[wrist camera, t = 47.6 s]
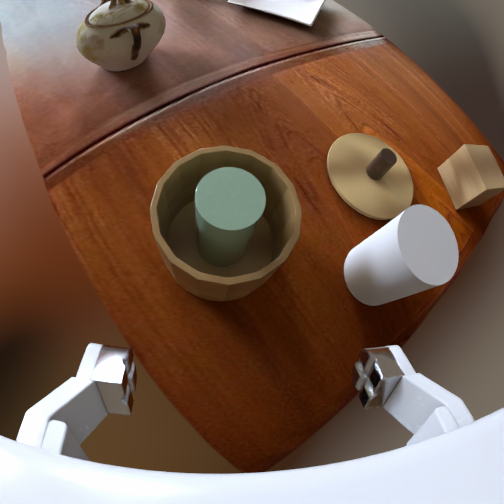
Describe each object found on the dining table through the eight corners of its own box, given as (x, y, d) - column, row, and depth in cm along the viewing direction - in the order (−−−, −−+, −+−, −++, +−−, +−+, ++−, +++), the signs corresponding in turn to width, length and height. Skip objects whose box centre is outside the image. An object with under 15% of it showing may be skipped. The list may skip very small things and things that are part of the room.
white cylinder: (407, 274, 39) (467, 246, 28) (375, 319, 36) (438, 303, 25) (367, 231, 40) (419, 190, 28) (331, 273, 37) (382, 240, 26)
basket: (289, 287, 36) (319, 265, 27) (174, 312, 33) (164, 298, 24) (261, 185, 39) (278, 140, 30) (155, 202, 36) (144, 158, 27)
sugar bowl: (74, 50, 43) (59, -11, 29) (145, 23, 47) (142, -38, 33) (99, 105, 40) (77, 28, 25) (186, 70, 44) (188, -7, 30)
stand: (479, 205, 46) (508, 187, 38) (455, 210, 44) (486, 189, 37) (462, 167, 48) (488, 146, 40) (437, 168, 46) (464, 144, 39)
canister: (252, 261, 36) (274, 223, 25) (201, 271, 34) (201, 236, 24) (240, 214, 37) (256, 162, 27) (191, 223, 36) (189, 172, 25)
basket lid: (422, 215, 42) (444, 199, 37) (345, 229, 39) (365, 211, 34) (387, 137, 46) (403, 116, 41) (311, 139, 43) (324, 114, 38)
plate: (309, 32, 53) (311, 25, 51) (225, 8, 52) (226, 0, 50) (323, 5, 59) (325, -1, 57) (254, -16, 58) (255, -22, 56)
